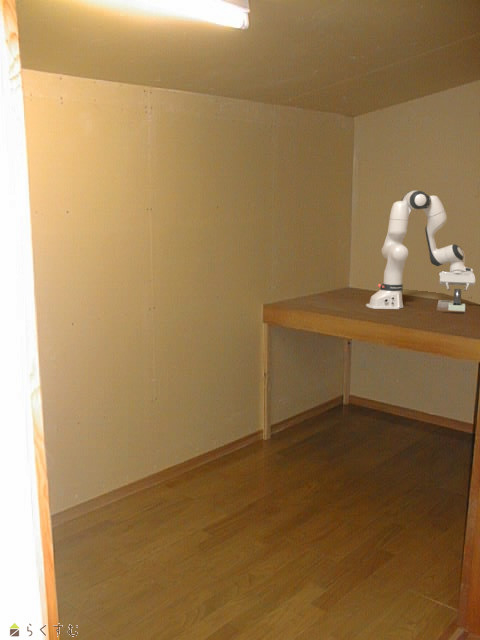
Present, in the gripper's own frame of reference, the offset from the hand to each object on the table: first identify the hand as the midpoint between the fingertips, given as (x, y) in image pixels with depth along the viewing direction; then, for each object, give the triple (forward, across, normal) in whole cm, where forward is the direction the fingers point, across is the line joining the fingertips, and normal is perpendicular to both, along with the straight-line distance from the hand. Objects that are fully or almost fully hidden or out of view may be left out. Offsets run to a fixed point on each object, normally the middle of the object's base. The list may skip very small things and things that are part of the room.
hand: (457, 290), depth 351 cm
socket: (+5, -5, +10) cm, 12 cm away
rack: (+12, 0, +3) cm, 13 cm away
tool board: (+10, -3, +7) cm, 13 cm away
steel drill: (+12, 0, +3) cm, 13 cm away
